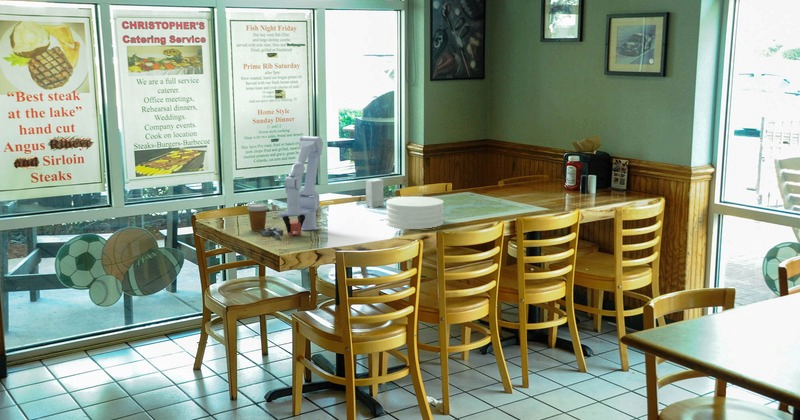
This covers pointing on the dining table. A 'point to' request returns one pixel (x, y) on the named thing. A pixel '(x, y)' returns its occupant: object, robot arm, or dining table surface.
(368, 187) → the skincare box
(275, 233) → the lip
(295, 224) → the block
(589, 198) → the dining table surface
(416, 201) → the plate stack
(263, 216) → the disposable coffee cup
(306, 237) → the dining table surface
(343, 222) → the dining table surface
